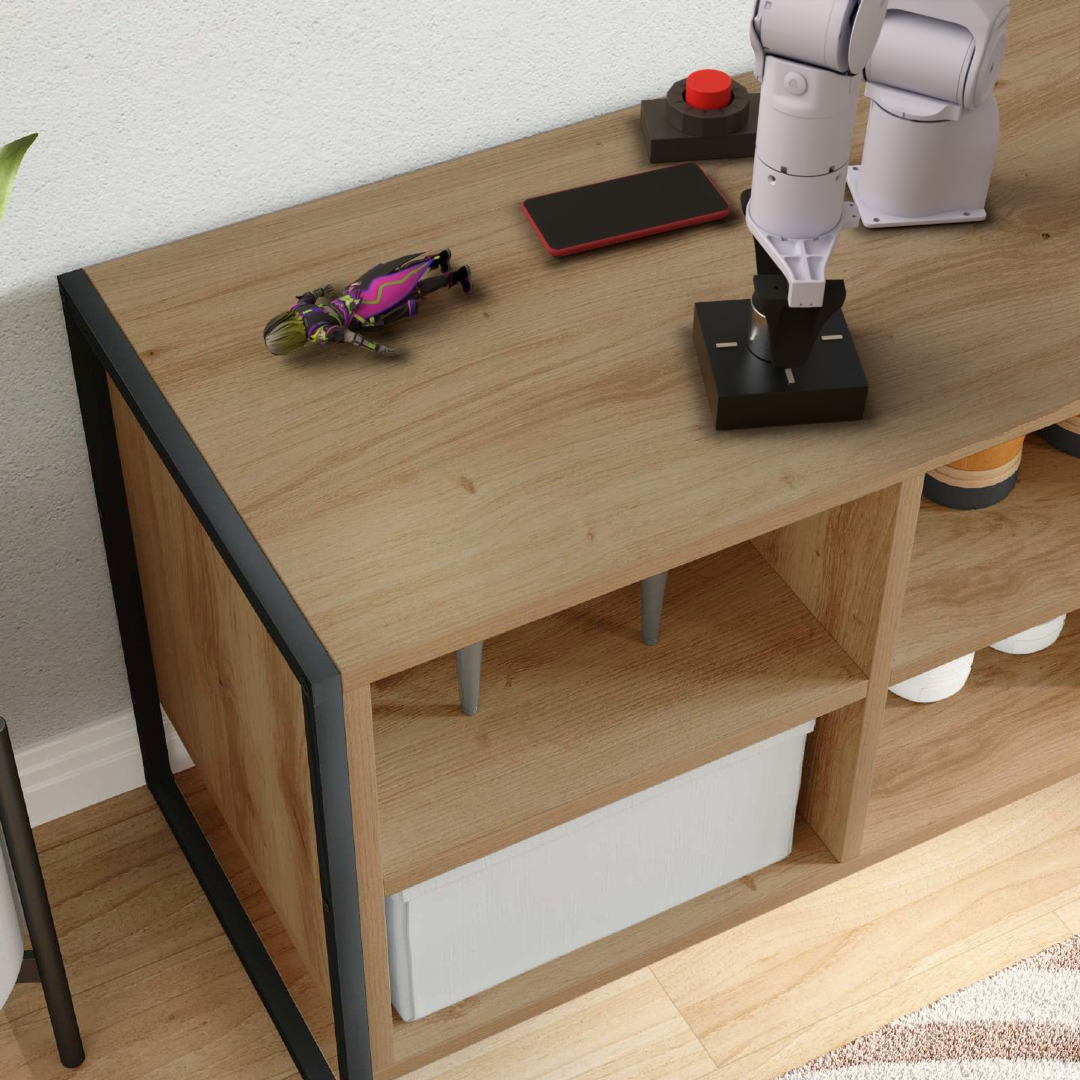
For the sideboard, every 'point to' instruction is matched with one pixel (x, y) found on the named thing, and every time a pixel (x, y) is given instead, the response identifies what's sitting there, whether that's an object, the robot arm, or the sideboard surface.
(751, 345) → the dimmer knob
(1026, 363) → the sideboard surface
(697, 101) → the light button
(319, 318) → the character figure
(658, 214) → the smartphone
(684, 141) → the light switch
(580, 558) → the sideboard surface
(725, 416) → the dimmer panel
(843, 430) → the sideboard surface
